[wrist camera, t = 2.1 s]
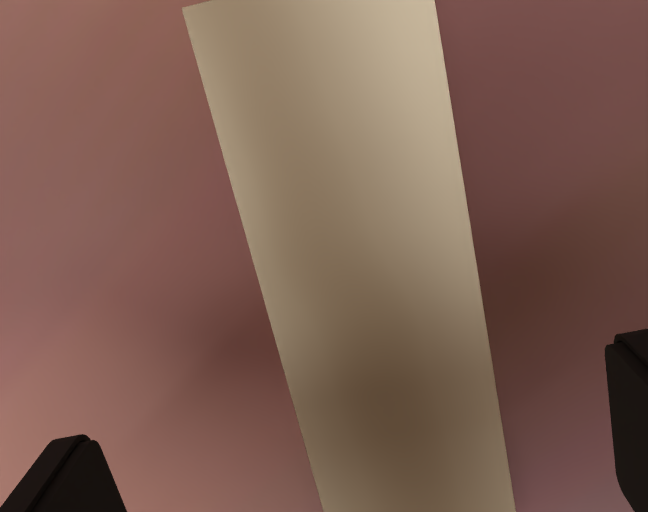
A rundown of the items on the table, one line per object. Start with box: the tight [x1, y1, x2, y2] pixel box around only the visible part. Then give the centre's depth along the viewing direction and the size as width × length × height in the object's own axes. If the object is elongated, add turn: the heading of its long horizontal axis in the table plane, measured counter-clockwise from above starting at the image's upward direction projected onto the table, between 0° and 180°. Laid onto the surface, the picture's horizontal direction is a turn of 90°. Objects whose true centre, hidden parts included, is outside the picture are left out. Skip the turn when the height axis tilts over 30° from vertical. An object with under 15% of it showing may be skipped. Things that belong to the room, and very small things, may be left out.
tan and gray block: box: [182, 0, 516, 512], centre depth 15 cm, size 5×16×6 cm, turn 13°
